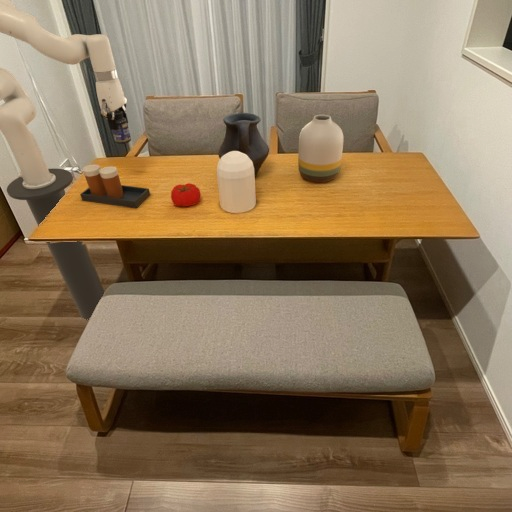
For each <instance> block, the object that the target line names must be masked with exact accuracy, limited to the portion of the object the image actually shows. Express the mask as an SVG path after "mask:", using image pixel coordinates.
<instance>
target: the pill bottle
mask: <svg viewBox="0 0 512 512" xmlns="http://www.w3.org/2000/svg"><path fill="white" fill-rule="evenodd" d="M109 114H110V115H111V112H109ZM114 119H116V121H117V125H118V130H111V132H112V135H113V139H114V142H115V143H116V144H117V145H124V144H125V145H126V144H128V143H130V142H131V141H132V136H131V133H130V132H131V131H130V129H129V123H127V120H126V118H124V117H123V112H122V111H118V110H115V111H114Z"/></svg>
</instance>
